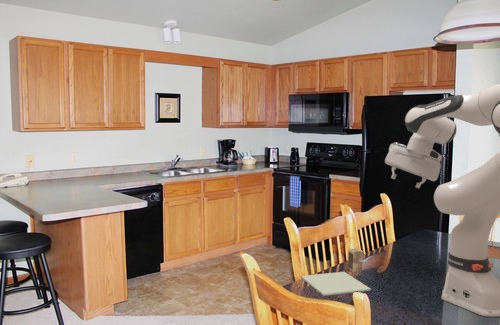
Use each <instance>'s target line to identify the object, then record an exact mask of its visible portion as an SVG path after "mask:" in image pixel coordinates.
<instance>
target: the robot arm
mask: <svg viewBox="0 0 500 325" xmlns="http://www.w3.org/2000/svg"><path fill="white" fill-rule="evenodd" d="M450 118H453V119H457V120H460V121H463V122H465V123H468V124H472V125H474V126H480V127H484V126H492V125H493V128H494V129H495V131H496V133H497V134H498V135H499V137H500V83H498V84H494V85H492V86H489V87H486V88H485V89H483V90H480V91H477V92H473V93H467V94H457V95H456V94H455V95H451V96H448V97H445V98H442V99H439V100H435V101H433V102H431V103H430V102H429V103H428V104H418V105H416V106H414V107H412V108H410V109H409V110H408V111H407V113H406V115H405V117H404V123H405V124H404V125H405V127H406V129H407V131H408V132H411V133H413V134H412V135H411V137H409V139H408V140H409V141H408V143H407V145H405V144H402V143H399V142H393V143H391V144H390V145H389V147H388V153H387V155H386V157H385V159H384V163H385V164H386V165H388V166H390V167H391V172H392V175H391V176H390V178H391V179H393V180H396V177H397V174H396V173H395V170H396V169H398V170H402V171H404V172H408V173H409V174H410V173H411V174H413V175H415V176H419V178H420V177H421V178H422V179H421V181H420V182H416V185H415V188H417V189H421V188H420V187H421V185H422V184H424V183H425V182H426V181H427V180H429V181H432V182H435V181H437V180H438V178H439V175H440V172H441V161H442V159H443V156H442V154H440V153H439V152H438V151H436V150H434V149H433V148H434V144H435V143H437V144H439V145H446V144H448V143H450V142H452V141H453V139H454V138H455V137H456V134H457V124H456V122H455V121H453V120H452V119H450ZM433 201H434V205H435V207H436V208H437V210H438V211H439V212H441V213H443V214H447V215H451V216H463V217H462V219H461V221H460V222H459V223H458V224H457V225H455V226H454V227H453V228H452V230H451V233H450V244H449V247H450V248H449V252H448V256H447V264H448V268H447V271H446V276H445V281H444V282H445V283H444V285H443V289H442V290H441V297H440V298H441V300H442V301H445V302H447V303H450V304H453V305H455V306H458V307H460V308H462V309H464V310H467V311H469V312H472V313H475V314H477V315H480V316H482V317H492V318H493V317H500V280H499V279H498V278H497V277H496V276H495V274H493V272H492V268H494V265H495V263H492V262H491V263H490V261H489V258H488V250H489V247H488V246H489V240H490V234H491V231H492V228H493V226H494V223H495V222H496V221H497V218H498V217H499V216H500V151H499V152H498V153H496V154H495V155H494V156H492V157H491V158H490V159H488V160H487V161H486V162H485V163H484V164H482V165H481V166H480V167H478V168H475V169H473V170H471V171H470V172H468V173H465V174H464V175H462V176H460V177H458V178H455V179H453V180H451V181H449V182H445V183H442V184H439V185H438V186H437V187H436V189H435V191H434V194H433Z"/></svg>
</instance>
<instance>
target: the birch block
mask: <svg viewBox="0 0 500 325" xmlns="http://www.w3.org/2000/svg"><path fill="white" fill-rule="evenodd" d="M347 253H348V254H347V255H348V256H347V270H348V271H350V272H352V273H359V272H360V273H361V272H363V265H364V264H363V260H364V251H363V250H361V249H359V248H349V249H348V252H347Z"/></svg>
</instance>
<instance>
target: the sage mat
mask: <svg viewBox="0 0 500 325" xmlns="http://www.w3.org/2000/svg"><path fill="white" fill-rule="evenodd" d="M300 278H301V279H302V280H303V281H304V282H306V284H308V285H309V286H310V287H311V288H313V289H315V290H316V291H317V293H319V294H320V295H322V296H323V297H328V296H334V295H335V296H336V295H343V294H352V293H353V292H354V293H356V292H355V291H358V292H357V293H361V292H362V293H363V292H368V291H372V288H371V287H369V286H368V285H365V284H364V283H363V282H361V281H360V280H358V279H356V278H355V277H353V276H351V275H350V274H348V273H347V272H345V271H339V272H338V271H337V272H328V273H318V274H311V275H310V274H308V275H300Z"/></svg>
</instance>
